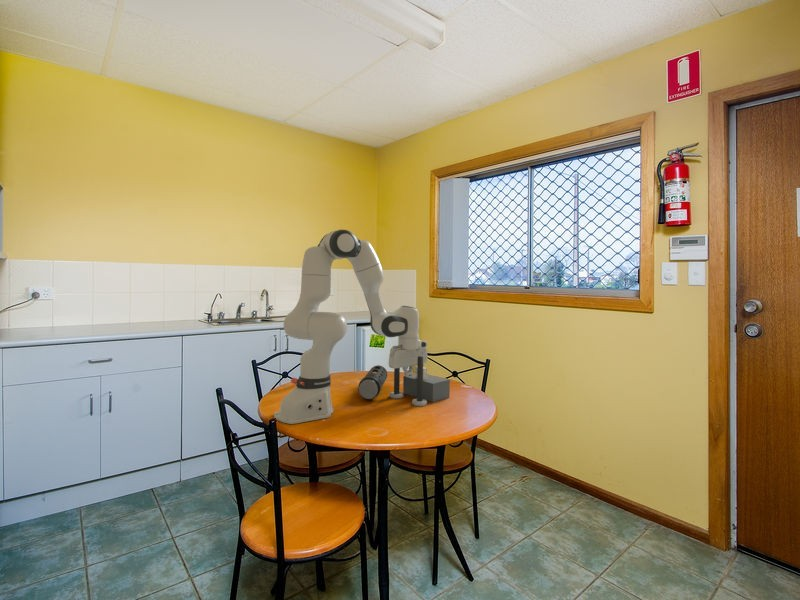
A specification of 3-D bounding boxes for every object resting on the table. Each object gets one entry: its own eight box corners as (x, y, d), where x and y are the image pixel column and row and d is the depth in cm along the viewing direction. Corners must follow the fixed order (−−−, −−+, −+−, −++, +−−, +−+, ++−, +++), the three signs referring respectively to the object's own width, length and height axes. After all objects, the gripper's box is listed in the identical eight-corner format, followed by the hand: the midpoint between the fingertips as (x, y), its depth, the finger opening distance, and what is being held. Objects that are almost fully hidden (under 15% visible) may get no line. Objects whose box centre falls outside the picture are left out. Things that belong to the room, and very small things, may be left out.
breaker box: (432, 402, 176) (433, 383, 175) (403, 393, 189) (403, 376, 188) (449, 397, 183) (449, 379, 183) (419, 389, 196) (420, 372, 196)
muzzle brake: (387, 386, 202) (388, 365, 201) (379, 403, 174) (379, 378, 173) (368, 385, 203) (368, 364, 202) (356, 402, 175) (357, 378, 174)
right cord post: (419, 407, 169) (420, 358, 168) (409, 403, 173) (410, 356, 172) (429, 404, 173) (430, 356, 172) (419, 401, 177) (420, 354, 176)
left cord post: (396, 399, 179) (396, 353, 178) (387, 396, 183) (387, 351, 182) (406, 397, 183) (406, 352, 182) (396, 394, 187) (397, 350, 186)
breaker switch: (423, 379, 181) (423, 368, 180) (415, 377, 184) (415, 366, 184) (426, 379, 182) (426, 367, 182) (418, 377, 186) (418, 366, 185)
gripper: (395, 347, 167) (395, 381, 168) (430, 342, 182) (429, 373, 182) (385, 345, 172) (385, 378, 173) (419, 340, 186) (419, 371, 187)
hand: (408, 375), depth 178 cm, fingers closed
